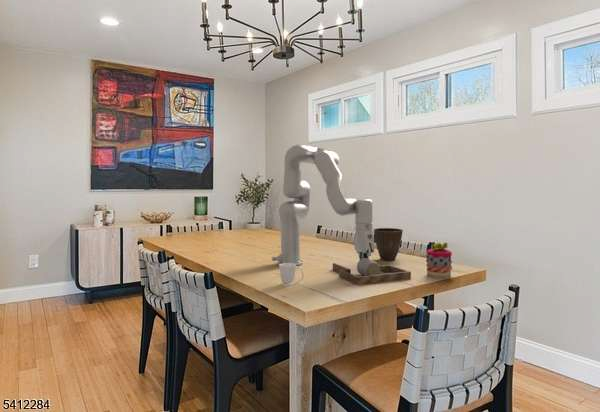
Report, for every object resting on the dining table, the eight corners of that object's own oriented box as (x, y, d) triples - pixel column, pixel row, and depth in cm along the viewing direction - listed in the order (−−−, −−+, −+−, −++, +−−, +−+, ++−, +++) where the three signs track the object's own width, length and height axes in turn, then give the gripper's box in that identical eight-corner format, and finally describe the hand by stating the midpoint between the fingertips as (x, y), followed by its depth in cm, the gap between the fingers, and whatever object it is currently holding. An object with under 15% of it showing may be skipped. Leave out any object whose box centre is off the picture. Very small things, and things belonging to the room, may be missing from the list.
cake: (420, 274, 174) (421, 240, 173) (437, 271, 179) (438, 239, 178) (439, 279, 165) (440, 243, 164) (456, 276, 170) (457, 242, 169)
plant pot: (397, 263, 198) (397, 232, 197) (369, 260, 206) (369, 230, 205) (405, 258, 211) (406, 229, 210) (379, 256, 218) (379, 227, 218)
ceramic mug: (367, 279, 164) (368, 261, 164) (356, 275, 172) (356, 258, 171) (387, 277, 169) (388, 259, 169) (376, 273, 176) (376, 256, 176)
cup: (281, 281, 162) (281, 262, 161) (305, 283, 159) (305, 263, 159) (276, 286, 155) (276, 265, 154) (301, 287, 152) (301, 267, 152)
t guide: (357, 285, 156) (357, 277, 156) (325, 270, 183) (325, 264, 183) (410, 278, 166) (410, 271, 166) (372, 265, 193) (372, 259, 193)
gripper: (380, 228, 170) (380, 270, 171) (362, 224, 184) (361, 263, 185) (365, 228, 167) (365, 271, 168) (347, 225, 181) (347, 265, 182)
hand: (363, 267), depth 176 cm, fingers closed
